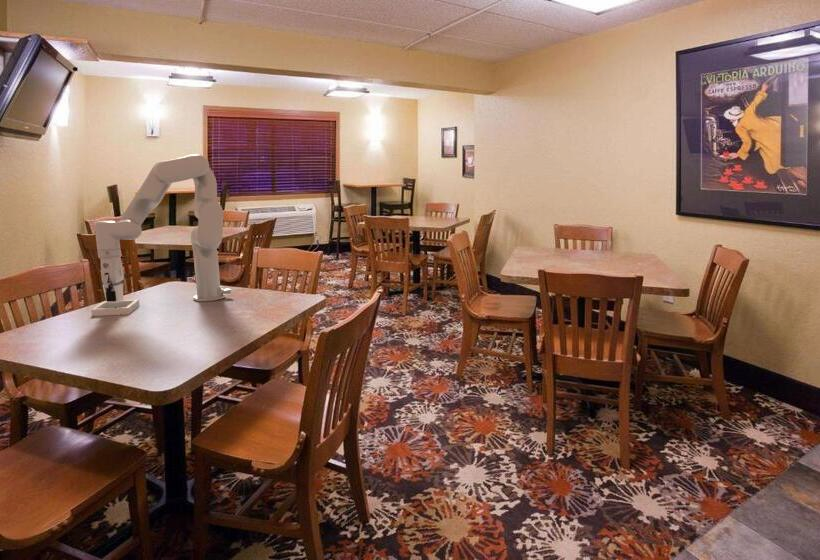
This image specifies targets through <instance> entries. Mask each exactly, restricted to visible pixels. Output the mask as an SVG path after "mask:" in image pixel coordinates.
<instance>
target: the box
mask: <svg viewBox="0 0 820 560" xmlns="http://www.w3.org/2000/svg"><path fill="white" fill-rule="evenodd" d="M138 306H139V307H140V299H126V300H125V299H123V301H122V302H118V303H107V302H106V300H104V301H102V302H101V303H98V305H96V306H94V307H93V308H91V309H90V311H91V317H97V316H98V317H100V316H102V317H103V316H116V315H117V316H119V315H120V314H122V315H130V314H131V313H132V312H134V311H135V310H136V309H137V308H138ZM115 307H116V308H115ZM133 310H134V311H133ZM120 316H121V315H120Z"/></svg>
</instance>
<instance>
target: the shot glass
mask: <svg viewBox="0 0 820 560" xmlns="http://www.w3.org/2000/svg"><path fill="white" fill-rule="evenodd" d="M110 286H111V287H112V285H110ZM102 289H103V293H104V297H105V301H106V302H107V300H106V292H105V287H104V285H103V284H102ZM114 291H115V293H116V301H109V302H107V303H118V302H122V301H123V300H124V282H121V283H120V282H119V283H117V284H115V283H114Z"/></svg>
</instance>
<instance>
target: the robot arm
mask: <svg viewBox="0 0 820 560" xmlns="http://www.w3.org/2000/svg"><path fill="white" fill-rule="evenodd" d="M191 179H192V180H193V183H194V204H193V212H194V213H193V214H194V216H195V218H197V219H198V220H197V221H198V222H197V226H194V228H193V229H192V230H191V232H190V233H191V234H190V242H191V247H192V252H193V253H192V254H193V255H192V256H193V265H194V277H195V285H196V286H195V288H196V294H195V295H193V301H196V302H213V301H219V299H220V300H222V298H223V299H224V298H225V297H226V296H225V295H228V294H229V295H230V294H232V289H231V288H223V286H222V285H221V281H220V280H221V277H220V265H219V253H218V250H217V249H218V247H219V246H221V243H222V241H223V240H222V239H223V231H224V230H223V228H224V210H223V207H222V205H221V204H220V203H219V202H218V183H217V180H216V179H217V178H216V176H215V173H214V172H213V171H212V169H211V167H210V163H209V160H208V159H207V157H205V156H204V155H202V154H196V153H195V154H188V155H186V156H183V157H177V158H174V159H168V160H160V161H158V162H156V163H155V164H153V166H152V168H151V169H150V171H149V173H148V175H147V176H146V177H145V180H144V181H143V183H142V185H140V187H139V189H138V191H137V192H136V194H135V195H134V197H133V199H132V200H131V202H130V204H129V205H127V208H126V209H125V211H124V213H123V214H122V215H121V218H120V219H119V221H115V220H99V221H96V222H95V223H94V233H95V240H96V249H97V256H98V259H100V275H101V282H102V286H103V285H104V287H105V292H106V298H105V301H106V300H107V302H109V301H116V293H115V291H114V283H115V284H117V283H119V282H120V283H122V282H123V280H124V279H125V273H124V268H123V262H122V258H121V257H122V252H121V251H122V250H121V243H120V240H125V241H126V240H130V241H132V240H136V239H138V238H140V236H141V235H142V233H143V232H142V231H143V230H142V229H143V228H142V225H143V223H144V221H145V220H146V218H147V217H148V215H149V214H150V213H151V212H152V211H153V210H155V209H156V208H157V207H158V206H159V204H160V203H161V202H162V200H163V199H164V197H165V195H166V194H167V192H168V189H169V188H170V187H171V185H172V184H173V183H178V182H183V181H188V180H191ZM110 285H112V287H111V286H110Z"/></svg>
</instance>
